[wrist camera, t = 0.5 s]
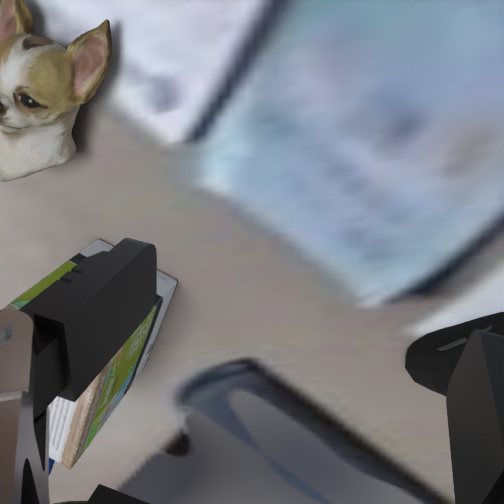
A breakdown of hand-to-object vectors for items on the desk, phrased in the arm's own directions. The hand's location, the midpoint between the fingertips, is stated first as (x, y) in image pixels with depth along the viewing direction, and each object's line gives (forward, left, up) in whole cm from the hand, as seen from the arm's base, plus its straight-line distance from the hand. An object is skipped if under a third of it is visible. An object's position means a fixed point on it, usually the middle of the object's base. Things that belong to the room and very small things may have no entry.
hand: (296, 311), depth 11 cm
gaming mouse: (+18, +14, -27) cm, 35 cm away
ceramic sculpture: (+2, -27, -27) cm, 38 cm away
